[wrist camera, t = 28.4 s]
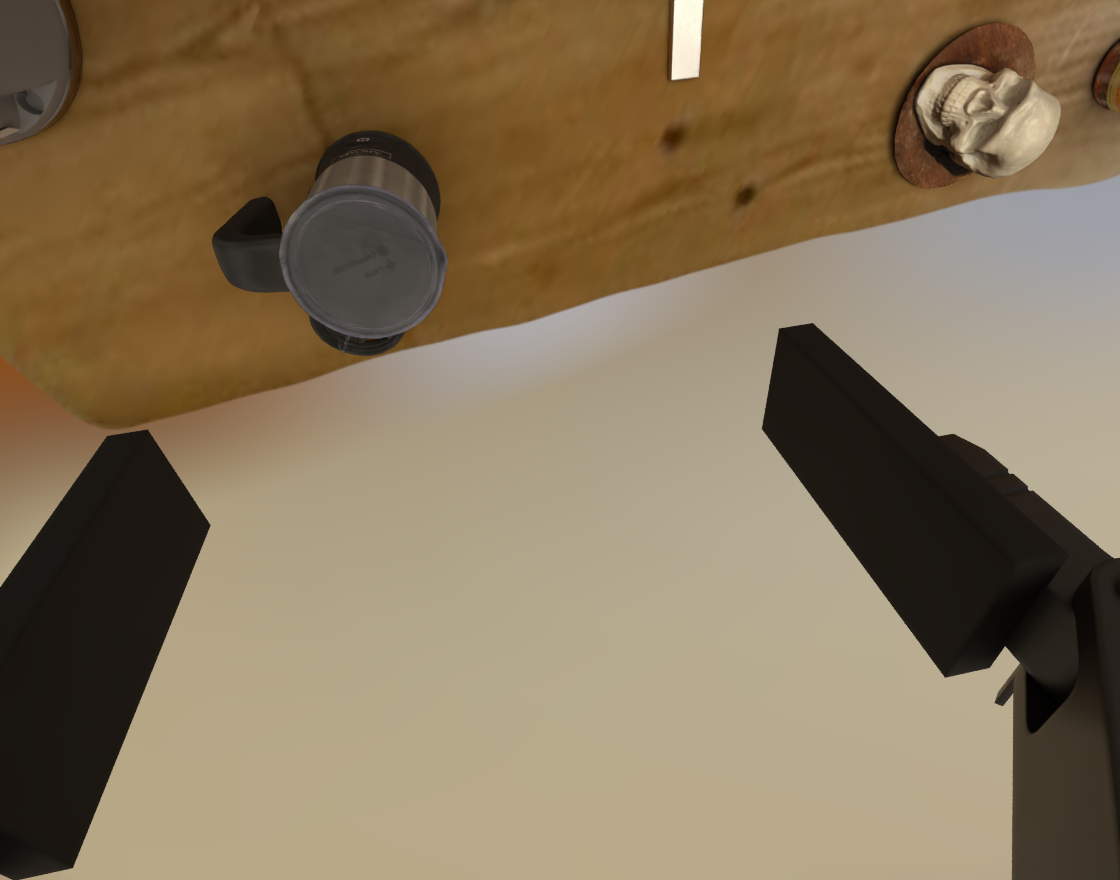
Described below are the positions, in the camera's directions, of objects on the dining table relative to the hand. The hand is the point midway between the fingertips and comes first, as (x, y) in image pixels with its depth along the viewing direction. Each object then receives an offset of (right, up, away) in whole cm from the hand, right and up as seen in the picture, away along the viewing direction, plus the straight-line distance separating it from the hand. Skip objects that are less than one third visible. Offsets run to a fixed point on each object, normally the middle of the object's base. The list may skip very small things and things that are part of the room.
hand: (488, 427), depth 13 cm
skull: (+35, +27, +36) cm, 57 cm away
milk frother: (-13, +15, +35) cm, 41 cm away
